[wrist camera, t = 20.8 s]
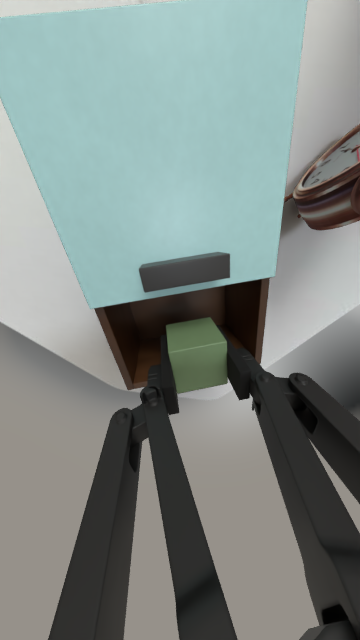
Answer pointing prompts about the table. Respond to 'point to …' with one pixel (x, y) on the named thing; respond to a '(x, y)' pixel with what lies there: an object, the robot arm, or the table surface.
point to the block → (197, 354)
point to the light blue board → (158, 137)
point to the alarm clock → (332, 186)
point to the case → (155, 313)
